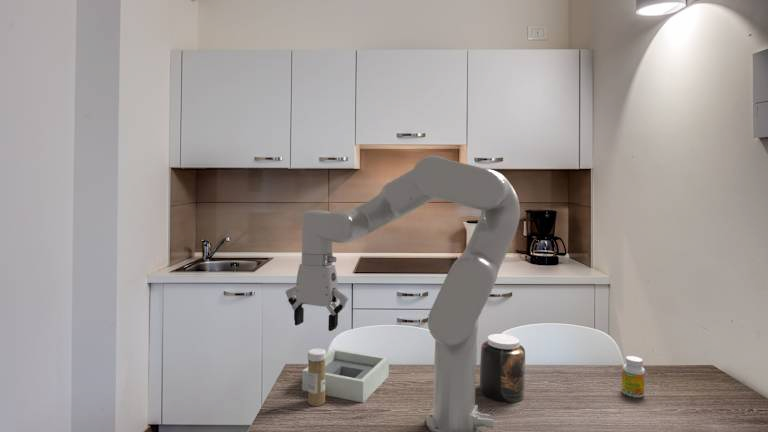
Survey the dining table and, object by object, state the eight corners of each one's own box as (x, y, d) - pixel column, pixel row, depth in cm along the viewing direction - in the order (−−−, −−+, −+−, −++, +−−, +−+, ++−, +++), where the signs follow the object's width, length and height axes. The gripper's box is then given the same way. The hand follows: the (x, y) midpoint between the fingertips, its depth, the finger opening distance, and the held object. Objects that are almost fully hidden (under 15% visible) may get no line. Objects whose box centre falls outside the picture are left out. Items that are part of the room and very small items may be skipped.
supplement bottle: (621, 395, 127) (622, 360, 126) (621, 387, 132) (623, 353, 131) (643, 399, 124) (645, 363, 124) (643, 391, 129) (645, 357, 129)
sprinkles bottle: (328, 403, 120) (328, 352, 119) (312, 408, 117) (312, 355, 116) (320, 396, 124) (321, 346, 123) (304, 401, 121) (304, 349, 120)
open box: (388, 376, 137) (388, 357, 137) (363, 402, 121) (363, 381, 120) (333, 366, 144) (333, 348, 143) (302, 390, 127) (302, 370, 127)
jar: (474, 397, 124) (476, 341, 123) (484, 380, 135) (486, 329, 134) (520, 406, 120) (522, 349, 118) (527, 388, 130) (529, 335, 129)
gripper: (354, 260, 118) (352, 327, 119) (295, 254, 124) (294, 318, 126) (340, 265, 111) (339, 336, 112) (278, 258, 117) (278, 326, 119)
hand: (315, 326), depth 119 cm, fingers open, 9 cm apart
